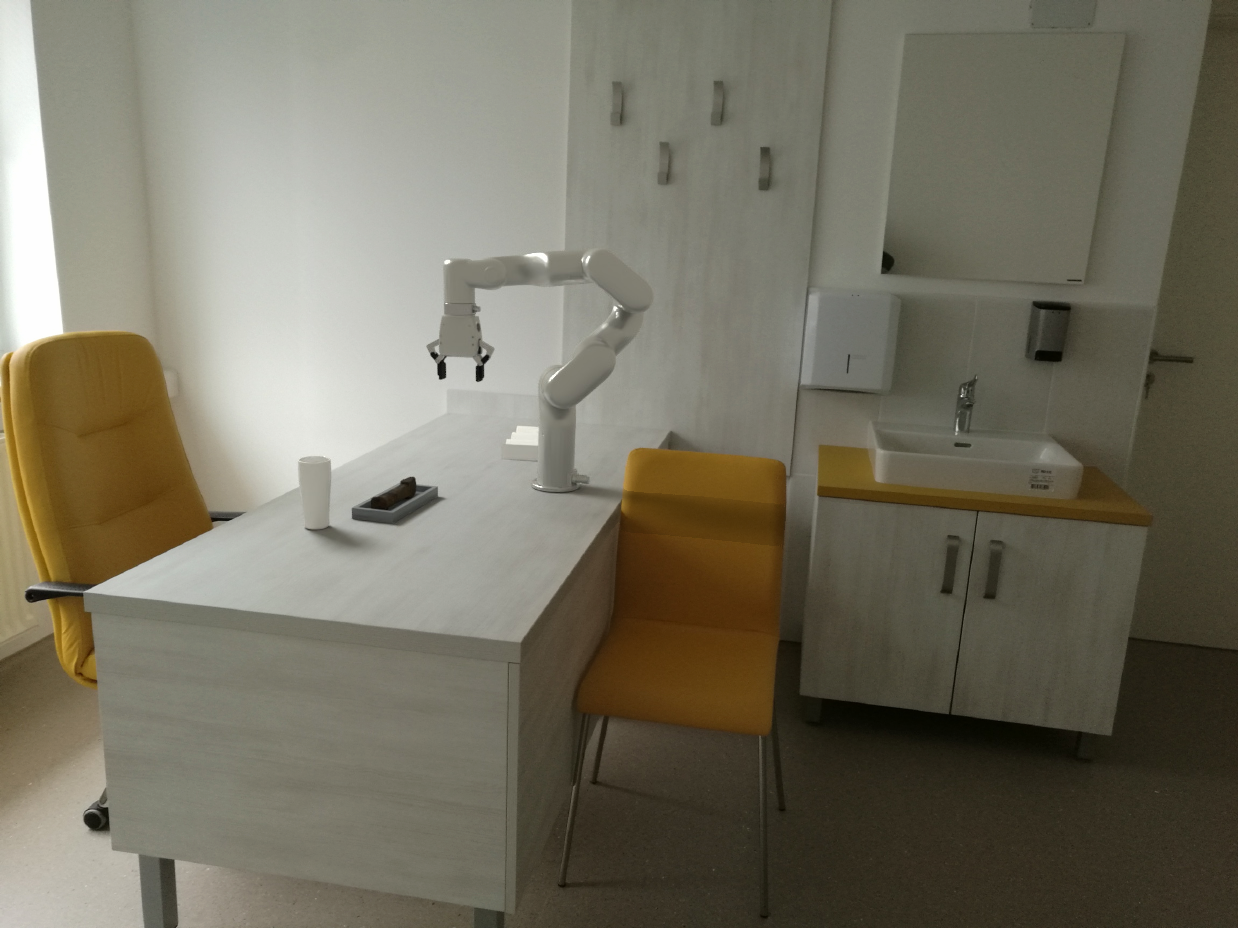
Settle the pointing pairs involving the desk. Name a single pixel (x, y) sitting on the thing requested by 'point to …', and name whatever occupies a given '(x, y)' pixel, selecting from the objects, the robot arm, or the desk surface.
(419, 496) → the tray
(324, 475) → the white tumbler
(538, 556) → the desk surface
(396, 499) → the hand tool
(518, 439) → the file organizer
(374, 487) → the desk surface
